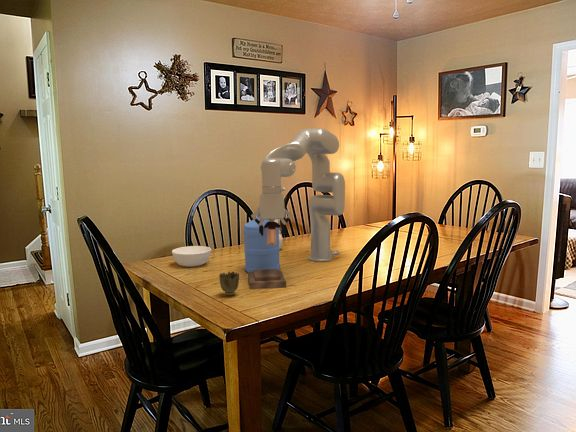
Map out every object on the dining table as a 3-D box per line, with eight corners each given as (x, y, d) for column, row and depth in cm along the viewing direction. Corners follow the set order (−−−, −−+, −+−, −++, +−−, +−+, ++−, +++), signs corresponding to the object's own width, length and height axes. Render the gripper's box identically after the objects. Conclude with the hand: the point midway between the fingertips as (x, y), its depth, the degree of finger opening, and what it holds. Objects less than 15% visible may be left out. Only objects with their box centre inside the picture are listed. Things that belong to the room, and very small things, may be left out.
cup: (222, 299, 165) (222, 277, 163) (217, 293, 171) (216, 273, 170) (242, 296, 168) (241, 275, 166) (236, 291, 174) (235, 270, 173)
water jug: (281, 274, 197) (279, 209, 193) (244, 275, 195) (242, 211, 192) (279, 265, 212) (277, 205, 208) (245, 266, 211) (243, 206, 207)
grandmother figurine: (263, 245, 180) (262, 213, 178) (262, 243, 184) (262, 212, 182) (282, 244, 181) (282, 213, 179) (281, 242, 185) (281, 211, 183)
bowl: (193, 258, 229) (192, 244, 228) (219, 263, 218) (219, 248, 217) (164, 266, 214) (163, 251, 213) (191, 271, 204) (190, 255, 202)
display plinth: (281, 276, 194) (281, 267, 193) (286, 287, 178) (286, 277, 178) (248, 278, 192) (248, 268, 191) (250, 289, 176) (250, 279, 176)
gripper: (291, 189, 185) (292, 232, 187) (248, 190, 182) (249, 233, 184) (294, 190, 177) (295, 235, 180) (250, 192, 175) (251, 237, 177)
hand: (272, 234), depth 182 cm, fingers closed on grandmother figurine, 7 cm apart
